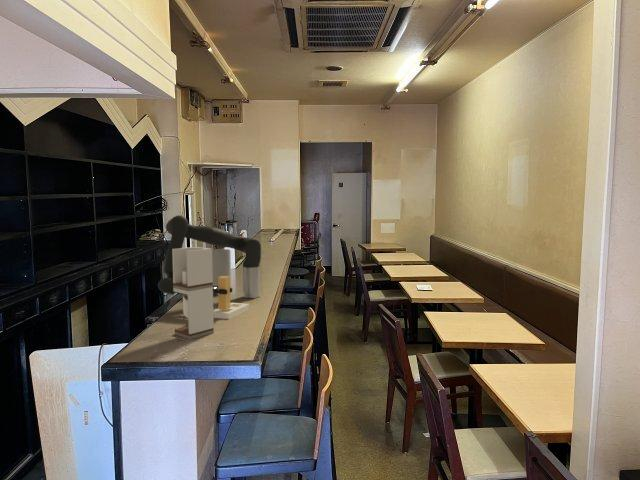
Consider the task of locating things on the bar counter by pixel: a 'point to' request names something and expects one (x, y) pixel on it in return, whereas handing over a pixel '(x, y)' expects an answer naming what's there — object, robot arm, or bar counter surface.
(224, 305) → the plug
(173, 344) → the bar counter surface
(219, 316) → the white socket board
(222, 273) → the cylinder vase
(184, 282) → the white tower
